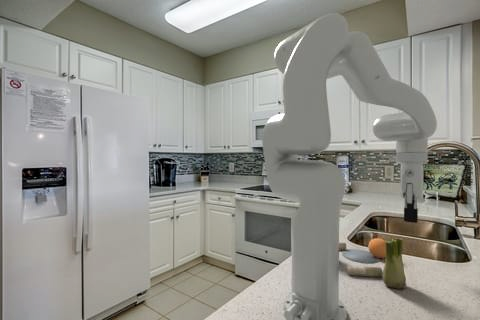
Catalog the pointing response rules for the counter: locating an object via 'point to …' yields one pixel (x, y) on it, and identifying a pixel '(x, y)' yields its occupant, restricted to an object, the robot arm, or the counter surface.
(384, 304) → the counter surface
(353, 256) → the light blue plate
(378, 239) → the ball
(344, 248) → the back pin
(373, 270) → the front pin
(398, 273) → the fennel bulb
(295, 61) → the robot arm
